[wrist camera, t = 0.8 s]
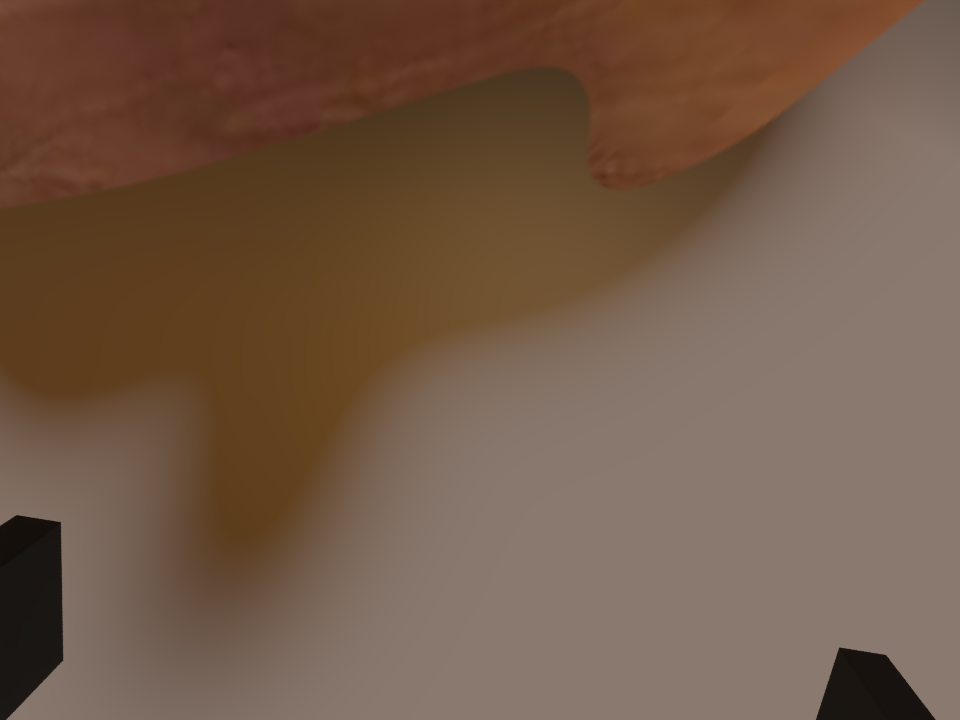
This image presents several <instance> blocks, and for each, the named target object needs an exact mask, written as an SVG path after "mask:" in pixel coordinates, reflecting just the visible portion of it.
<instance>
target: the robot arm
mask: <svg viewBox="0 0 960 720" xmlns="http://www.w3.org/2000/svg"><path fill="white" fill-rule="evenodd" d="M61 566H62V564H61V522H56V521H50V520H44V519H37V518H31V517H25V516H19V515H16V516H15V517H13V518H12V519H10V520H8V521H7V522H5V523H4V524H2V525H1V526H0V720H6V719H7V718H8V717H9V716H10V715H11V714H12V713H13V712H14V711H15V710H16V709H17V708H18V707H19V706H20V705H21V704H22V703H23V702H24V701H25V699H26V698H27V697H28V696H29V695H30V694H31V693H32V692H33V691H34V690H35V689H36V688H37V687H38V686H39V685H40V684H41V683H42V682H43V681H44V680H45V679H46V678H47V677H48V676H49V674H50V673H51V672H52V671H53V670H54V669H55V668H56V667H57V666H58V665H59V664H60V663H61V662H62V661H63V624H62V623H63V622H62V567H61ZM816 720H935V718H934V717H933V716H932V714H931V713H930V712H929V711H928V709H927V708H926V707H925V705H924V704H923V703H922V702H921V700H920V699H919V698H918V696H917V695H916V694H915V692H914V691H913V690H912V688H911V687H910V686H909V684H908V683H907V682H906V680H905V679H904V678H903V677H902V675H901V674H900V673H899V671H898V670H897V669H896V668H895V666H894V665H893V664H892V662H891V661H890V660H889V658H888V657H887V656H886V655H882V654H876V653H870V652H864V651H857V650H851V649H845V648H839V650H838V653H837V656H836V659H835V663H834V666H833V669H832V672H831V675H830V679H829V681H828V684H827V688H826V690H825V693H824V697H823V700H822V703H821V706H820V709H819V712H818V715H817V718H816Z"/></svg>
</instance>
